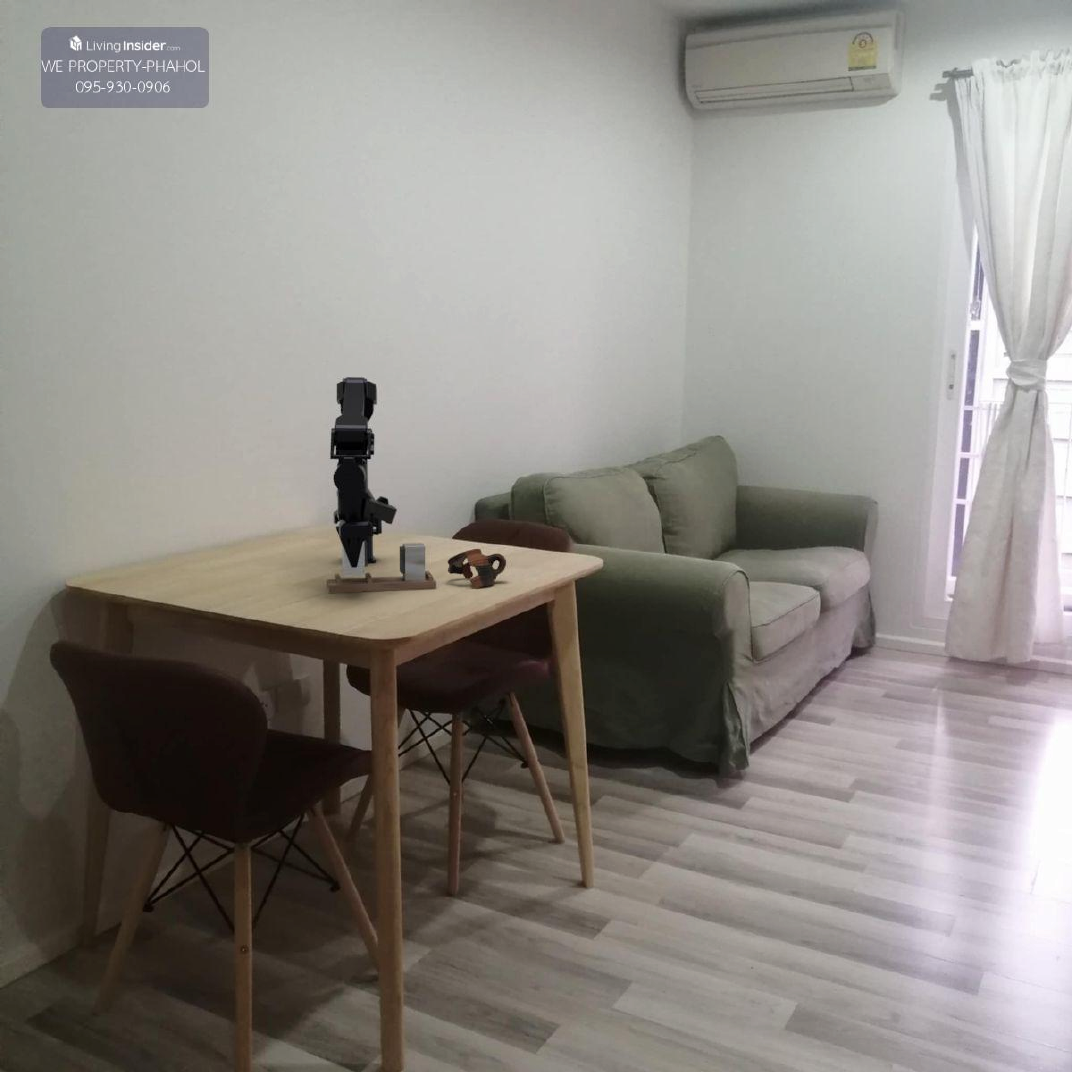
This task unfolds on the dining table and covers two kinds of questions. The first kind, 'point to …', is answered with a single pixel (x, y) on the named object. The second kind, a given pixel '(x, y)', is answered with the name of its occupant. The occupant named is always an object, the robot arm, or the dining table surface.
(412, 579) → the rail
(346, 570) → the block
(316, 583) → the dining table surface
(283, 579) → the dining table surface
